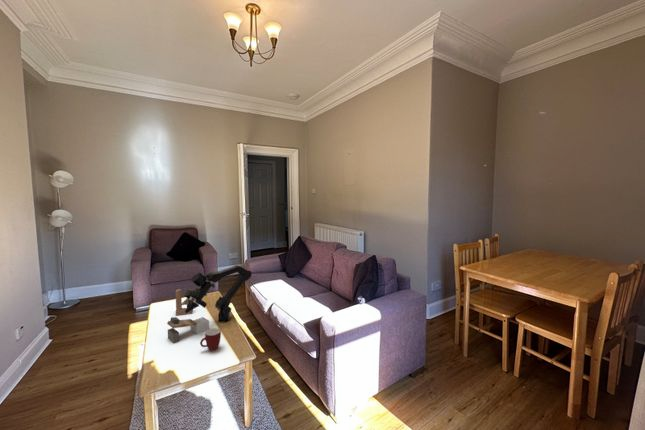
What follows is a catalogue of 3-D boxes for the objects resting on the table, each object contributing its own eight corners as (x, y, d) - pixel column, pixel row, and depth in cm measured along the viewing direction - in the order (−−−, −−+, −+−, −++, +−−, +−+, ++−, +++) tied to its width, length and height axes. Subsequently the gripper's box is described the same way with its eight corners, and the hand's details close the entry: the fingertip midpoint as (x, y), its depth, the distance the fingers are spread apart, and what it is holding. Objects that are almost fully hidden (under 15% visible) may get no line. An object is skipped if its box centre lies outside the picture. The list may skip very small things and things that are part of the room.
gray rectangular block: (203, 325, 176) (202, 316, 176) (209, 328, 171) (209, 320, 171) (167, 338, 160) (167, 329, 159) (173, 343, 155) (173, 334, 154)
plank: (190, 321, 169) (191, 314, 170) (196, 325, 164) (197, 318, 165) (167, 323, 159) (168, 316, 159) (172, 328, 154) (174, 321, 154)
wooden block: (192, 313, 192) (191, 289, 191) (175, 315, 189) (174, 291, 187) (193, 311, 196) (192, 287, 194) (176, 313, 192) (175, 289, 191)
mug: (202, 356, 142) (202, 338, 142) (199, 349, 149) (198, 332, 148) (223, 349, 149) (222, 332, 148) (218, 343, 155) (218, 326, 154)
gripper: (187, 280, 172) (169, 302, 164) (201, 286, 160) (182, 310, 152) (199, 289, 178) (182, 310, 170) (214, 296, 167) (196, 319, 159)
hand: (185, 312), depth 163 cm, fingers closed
